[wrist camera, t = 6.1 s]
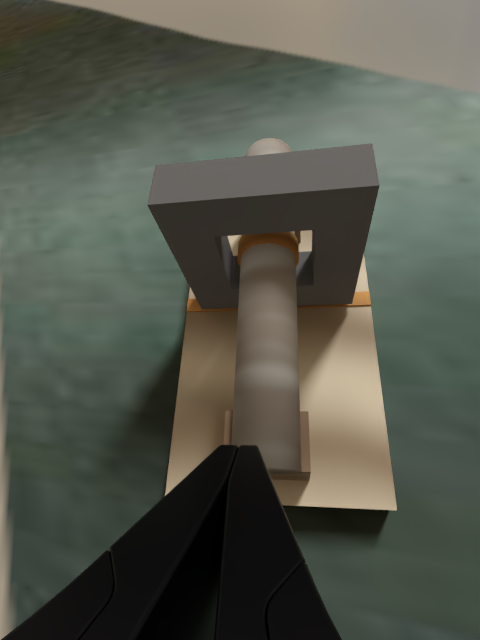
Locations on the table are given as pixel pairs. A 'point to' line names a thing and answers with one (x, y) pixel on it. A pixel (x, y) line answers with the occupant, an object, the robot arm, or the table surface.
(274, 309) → the pipe rig
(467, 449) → the table surface
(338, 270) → the collar
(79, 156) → the table surface
